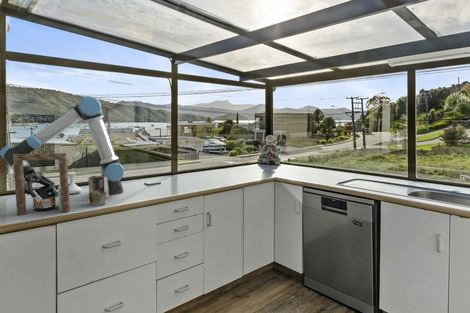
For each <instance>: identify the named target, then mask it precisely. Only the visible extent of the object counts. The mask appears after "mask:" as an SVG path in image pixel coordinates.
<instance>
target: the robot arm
mask: <svg viewBox="0 0 470 313" xmlns="http://www.w3.org/2000/svg"><path fill="white" fill-rule="evenodd" d="M104 117H105V116H104V112H103V110H102V104H101V102H100V100H99V99H98V98H97V97H94V96H92V95H87V96H86V95H85V96H83V97H81V99H80V100H79V102H78V103H77V104H76V105H74V106H73V107H71V109H70V110H69V111H68V112H67V113H65V114H64V115H62V116H60V117H58V118H57V119H56V120H55V121H53V122H50V123H49V124H48V125H47V126H45V127H43V128H42V129H40V130H39V131H37V132H36V133H34V134H31V135H30V136H28V137H26V138H25V139H24V140H22V141H20V142H19V143H18V144H16V145H15V146H13V145H6V146H3V148H1V150H0V156H1V158H2V159H3V160H4V162H5V163H6V164H7V165H8V166H10V168H11V169H12V170H13V171H14V165H13V155H14V154H32V153H33V152H34V151H36V150H37V149H39V148H40V147H41V146H43V145H44V144H46V143H47V142H49V141H50V140H52V139H53V138H55V137H57V136H58V135H60V134H62V133H63V132H64V131H66V130H67V129H69V128H70V127H72V126H74V125H75V124H77V123H78V122H79V121H83V122H85V123H87V125H88V128H89V131H90V133H91V136H92V138H93V140H94V141H93V142H94V143H95V146H96V149H97V152H98V155H99V157H100V162H99V164H100V169H101V170H100V173H101V175H100V176H108V190H109V196H110V195H111V196H113V195H117V194H121V193H123V192H124V188H123V187H124V186H123V185H122V182H121V179H122V178H123V176H124V174H125V169H124V168H125V167H124V166H123V165H122V163H121V161H120V160H121V159H120V157H119V156H118V155H116V154H115V151H114V148H113V146H112V143H111V140H110V136H109V134H108V131H107V128H106V125H105V123H104V120H103V119H104ZM23 171H24V185H25V195H27V196H29V195H30V196H31V198H32V199H33V198H34V199H35V200H36V201H37V202H38V203H39V202H40V201H41V200H42V198H41V197H40V196H39V195H38V194H37V193H36V192H35V191H34V190H33V184H34V183H35V184H40V185H41V186H53V187H54V192H55V198H59V196H58V188H57V189H56V187H55V184H56V183H55V182H53V180H51V179H50V178H48V177H47V176H45V175H44V174H43V173H41V172H39V173H38V174H37V173H36V172H35V169H34V168H33V166H31V165H30V163H29V162H28V160H23Z"/></svg>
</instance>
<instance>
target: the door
mask: <svg viewBox="0 0 470 313" xmlns="http://www.w3.org/2000/svg"><path fill="white" fill-rule="evenodd" d="M57 191H58V209H59V212H60V211H61V212H62V207H61V190H60V184H59V186H58V188H57Z"/></svg>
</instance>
